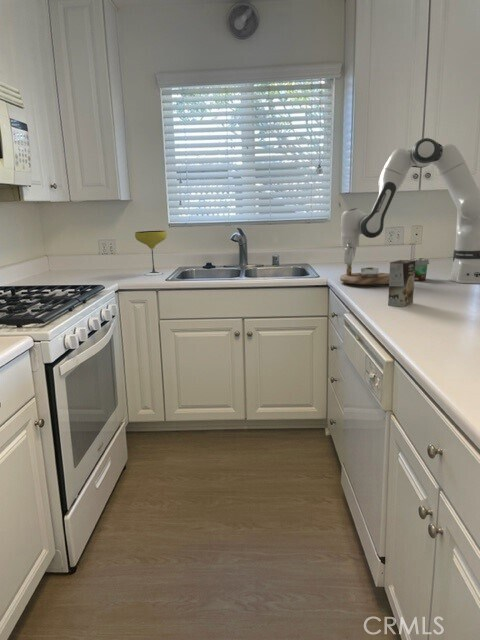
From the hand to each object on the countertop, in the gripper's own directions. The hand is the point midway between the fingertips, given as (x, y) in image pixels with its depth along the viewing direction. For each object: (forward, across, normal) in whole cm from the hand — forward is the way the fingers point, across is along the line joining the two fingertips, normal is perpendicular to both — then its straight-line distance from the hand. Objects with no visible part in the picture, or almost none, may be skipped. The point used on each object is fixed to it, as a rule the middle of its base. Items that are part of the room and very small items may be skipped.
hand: (349, 271), depth 233 cm
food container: (+5, +3, -34) cm, 34 cm away
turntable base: (+5, -7, -10) cm, 13 cm away
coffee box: (+5, -54, -23) cm, 59 cm away
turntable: (+3, -7, -10) cm, 13 cm away
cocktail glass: (+5, +14, +114) cm, 116 cm away
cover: (+2, -8, -10) cm, 13 cm away
